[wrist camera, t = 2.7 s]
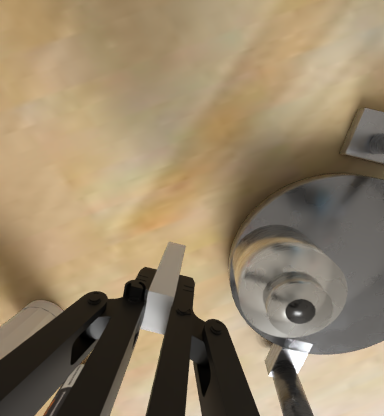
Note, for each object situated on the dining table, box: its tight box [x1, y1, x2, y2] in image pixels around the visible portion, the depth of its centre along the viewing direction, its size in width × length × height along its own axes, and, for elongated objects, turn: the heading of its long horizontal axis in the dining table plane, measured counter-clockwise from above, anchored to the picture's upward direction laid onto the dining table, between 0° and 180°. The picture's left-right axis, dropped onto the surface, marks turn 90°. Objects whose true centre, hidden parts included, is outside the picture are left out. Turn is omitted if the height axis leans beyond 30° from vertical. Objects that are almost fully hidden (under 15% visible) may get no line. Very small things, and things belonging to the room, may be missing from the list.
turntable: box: [228, 173, 384, 416], centre depth 20 cm, size 25×20×7 cm
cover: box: [232, 225, 348, 338], centre depth 18 cm, size 8×8×7 cm
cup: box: [0, 300, 63, 360], centre depth 24 cm, size 8×8×12 cm
